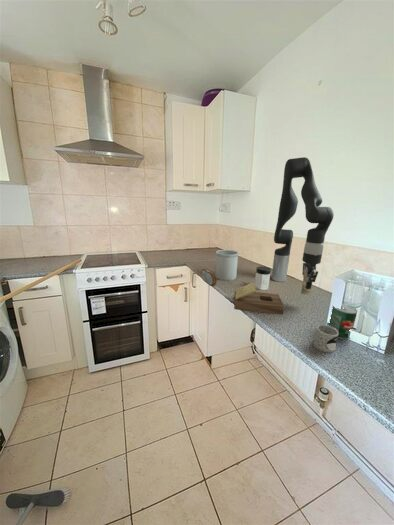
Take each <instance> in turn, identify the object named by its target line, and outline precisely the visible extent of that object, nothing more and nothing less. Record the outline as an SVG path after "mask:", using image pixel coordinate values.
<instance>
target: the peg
mask: <svg viewBox="0 0 394 525" xmlns="http://www.w3.org/2000/svg"><path fill="white" fill-rule="evenodd" d="M308 275H310V274H308ZM311 279H312V278H311ZM306 282H307V276H306V269H305V272H304V277H303V280H302V282H301V283H302V284H301V290H300V294H301V295H304V296H305V295H306V296H310V295H311V293H312V292H311V291H312V287H313V286H311V289H306Z"/></svg>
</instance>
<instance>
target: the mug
mask: <svg viewBox="0 0 394 525" xmlns="http://www.w3.org/2000/svg"><path fill="white" fill-rule="evenodd" d="M338 334H339V333H338V331H337V330H336V328H332V327H330V326H329V325H325V324H319V325H317V326H316V328H315V334H314V338H313V346H314V347H315V348H316V349H318V351H321V352H324V353H329V354H330V353H334V352H335V351H336V346H337V342H338V339H339V338H338Z"/></svg>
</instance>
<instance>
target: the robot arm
mask: <svg viewBox="0 0 394 525" xmlns="http://www.w3.org/2000/svg"><path fill="white" fill-rule="evenodd" d="M283 171H284V172H283V183H282V191H281V198H280V201H279V202H280V203H279V208H278V216H277V222H276V227H275V230H274V236H273V242H274V243H275V244H277V245H278V244H279V245H284V246H282V247H279V248H276V249H274V255H273V262H272V268H271V269H272V270H271V276H270V278H271V281H272V280H273V281H274V282H278V283H279V282H281V283H283V282H284V283H285V282H286V281H287V276H288V268H289V263H290V255H291V249H292V242H293V239H294V231H293V230H292V229H284V228H283V227H284V226H285V225H286V224H287V222H289V221H290V220H291V219H292V218H293V217H294V216H295V214H296V212H297V210H298V209H297V208H298V205H299V204H298V203H299V200H298V197H297V195H296V193H295V191H294V189H293V186H292V184H293V183H292V182H293V179H296V178H297V179H298V178H303V179H304V182H303V185H302V187H301V191H300V196H301V199H302V201H303V203H304V206H305V208H304V209H305V219H306V221H307V222H309V223H310V224H317V225H316V226H315V227H313V228H309V229H308V230H307V234H306V239H305V244H304V248H303V253H302V254H303V255H302V259H301V260H302V262H303V263H302V272H301V273H302V274H301V275H302V277H303V278H304V272H305V269H306V276H307V282H306V289H311V290H312V287H313V286H312V285H313V283H315V282H316V280H317V277H318V274H319V271H318V270H317V265H319V264H321V263H322V262H321V261H322V257H323V252H324V243H325V237H326V234H327V231H328V230H329V227H330V226H331V224H332V222H333V219H334V216H335V215H334V210H333V209H332V207H330V206H321V205H322V203H323V198H322V196H321V193H320V191H319V189H318V187H317V184H316V182H315V181H316V180H315V177H314V171H313V168H312V165H311V161H310V159H309V158H308V157H305V156H304V157H295V158H289V159H288V160H286V161H285V165H284V170H283ZM308 274H310V275H308ZM311 278H312V279H311ZM311 286H312V287H311Z"/></svg>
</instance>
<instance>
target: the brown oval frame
mask: <svg viewBox="0 0 394 525" xmlns="http://www.w3.org/2000/svg"><path fill="white" fill-rule="evenodd" d="M201 278H202V280H203V282H204V283H205V284H207V285H208V286H210V287H213V286H216V285H217V282H218V281H217V280H218V279H217V278H216V273H215V272H213V270H210V269H209V268H203V269H202V270H201Z"/></svg>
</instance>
